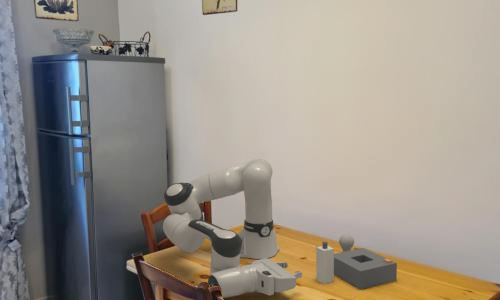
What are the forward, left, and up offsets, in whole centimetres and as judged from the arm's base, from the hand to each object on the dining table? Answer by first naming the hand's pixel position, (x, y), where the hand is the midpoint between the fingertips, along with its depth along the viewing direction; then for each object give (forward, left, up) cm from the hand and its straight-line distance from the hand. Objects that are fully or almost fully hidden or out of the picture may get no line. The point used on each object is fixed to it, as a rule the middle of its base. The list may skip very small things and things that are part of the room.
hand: (293, 269), depth 159 cm
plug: (0, +13, -7) cm, 14 cm away
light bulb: (-14, +33, -7) cm, 36 cm away
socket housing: (+3, +27, -7) cm, 28 cm away
